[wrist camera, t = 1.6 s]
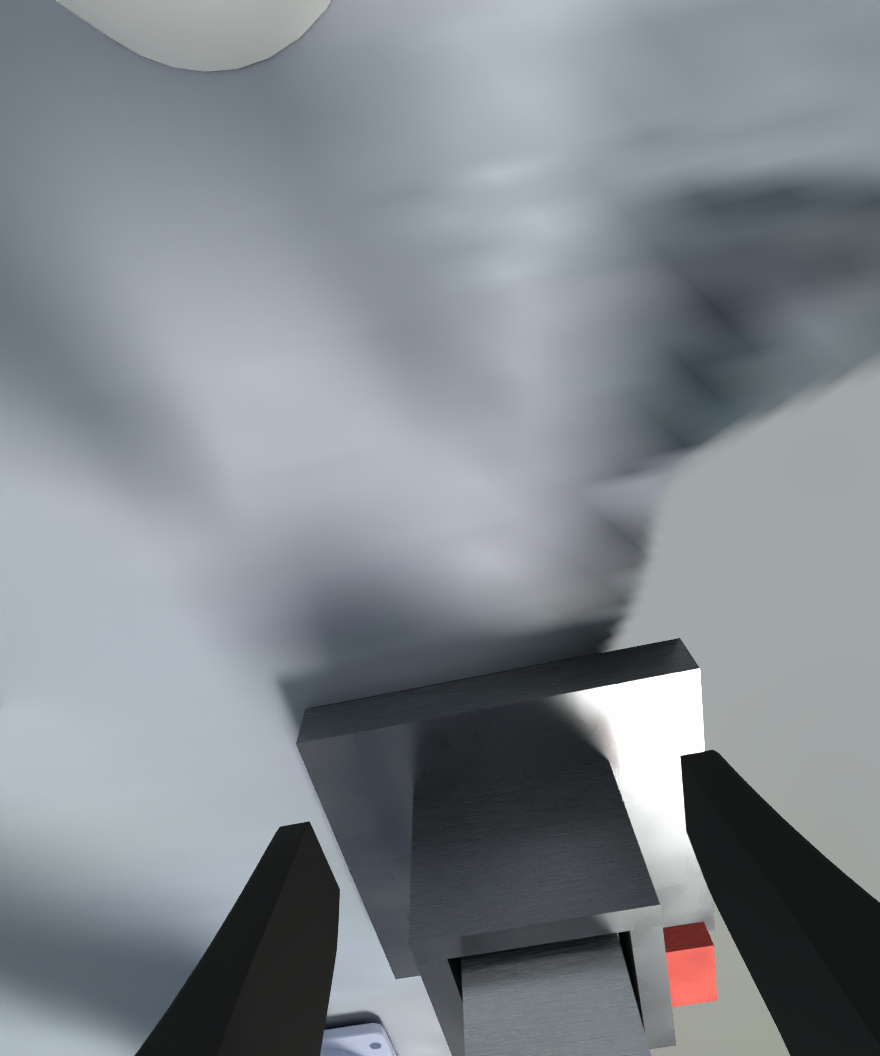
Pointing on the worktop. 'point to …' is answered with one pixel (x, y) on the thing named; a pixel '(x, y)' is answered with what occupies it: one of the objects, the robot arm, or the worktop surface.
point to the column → (552, 1001)
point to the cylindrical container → (201, 28)
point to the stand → (526, 821)
